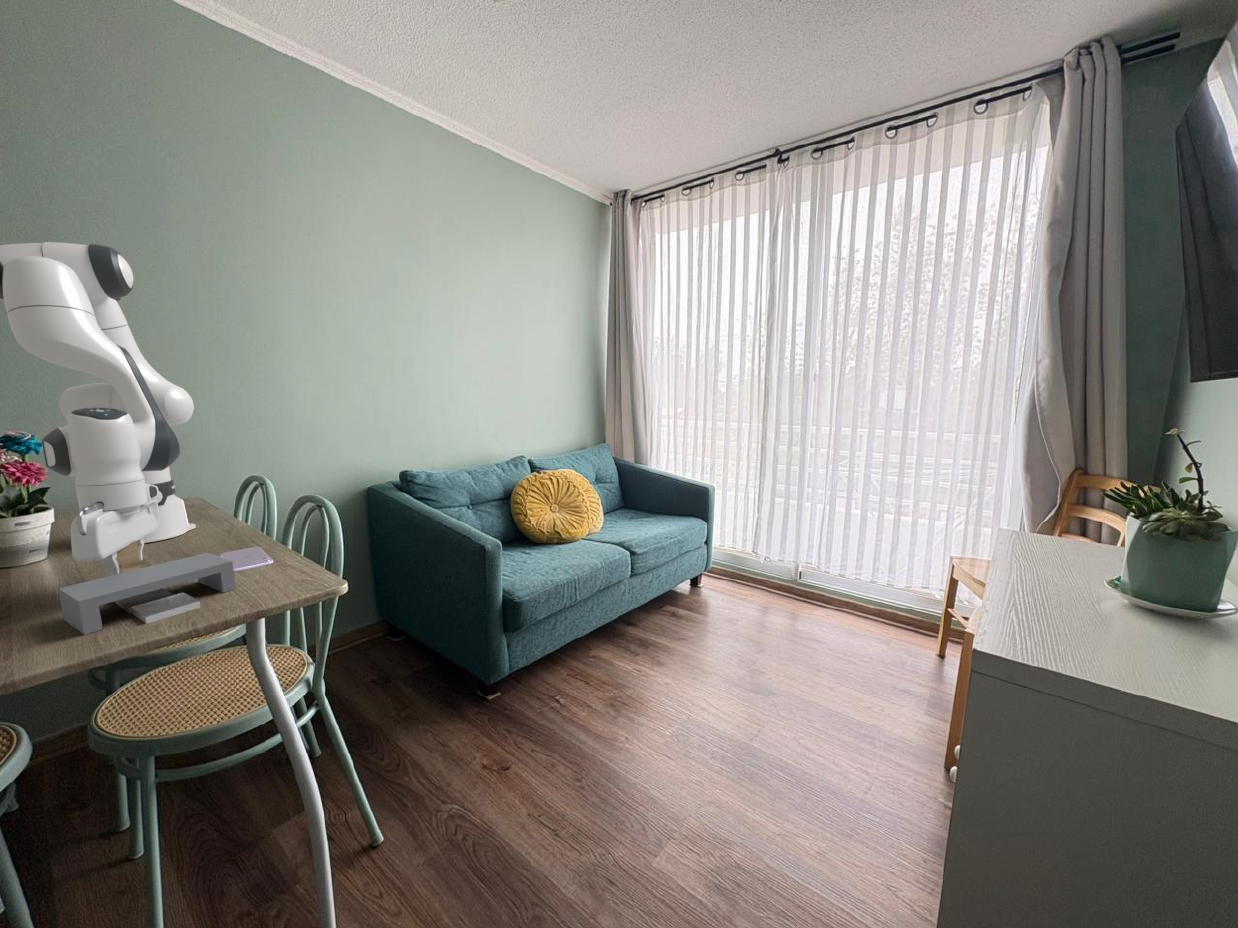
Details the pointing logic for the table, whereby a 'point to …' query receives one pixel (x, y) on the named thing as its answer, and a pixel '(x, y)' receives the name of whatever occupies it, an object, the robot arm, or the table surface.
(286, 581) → the table surface
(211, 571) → the low shelf
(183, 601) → the flat gray rectangular block
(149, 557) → the table surface
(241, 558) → the mobile phone
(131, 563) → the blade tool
